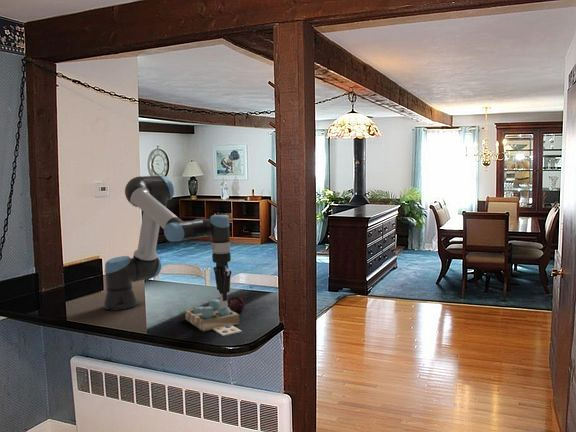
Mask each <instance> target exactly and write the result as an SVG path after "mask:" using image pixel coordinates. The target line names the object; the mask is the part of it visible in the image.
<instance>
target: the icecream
mask: <svg viewBox="0 0 576 432" xmlns="http://www.w3.org/2000/svg"><path fill="white" fill-rule="evenodd" d="M245 300H246V295H241V296H240V297H239V296H233V297H231V298H230V299H228V307H229V308H230V310H231V311H233V312H235V313H239V312H241V311H242V310H243V309H244V307H245V305H246V304H245Z"/></svg>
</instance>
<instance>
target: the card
mask: <svg viewBox="0 0 576 432" xmlns="http://www.w3.org/2000/svg"><path fill="white" fill-rule="evenodd" d="M212 330H213V331H215V332H216V333H217V334H219V335H221V336H222V337H224V336H225V337H226V336H230V335H234V334H238V333H242V330H241V329H239V328H238V327H236V326H235V325H231V324H230V325H225V326H220V327H215V328H213V329H212Z"/></svg>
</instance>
